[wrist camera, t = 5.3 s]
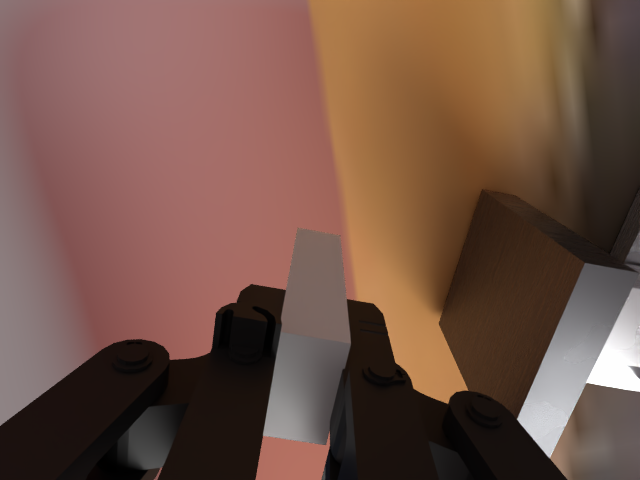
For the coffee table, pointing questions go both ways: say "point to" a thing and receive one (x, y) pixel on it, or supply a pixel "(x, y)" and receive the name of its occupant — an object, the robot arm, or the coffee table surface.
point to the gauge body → (635, 249)
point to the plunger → (537, 313)
